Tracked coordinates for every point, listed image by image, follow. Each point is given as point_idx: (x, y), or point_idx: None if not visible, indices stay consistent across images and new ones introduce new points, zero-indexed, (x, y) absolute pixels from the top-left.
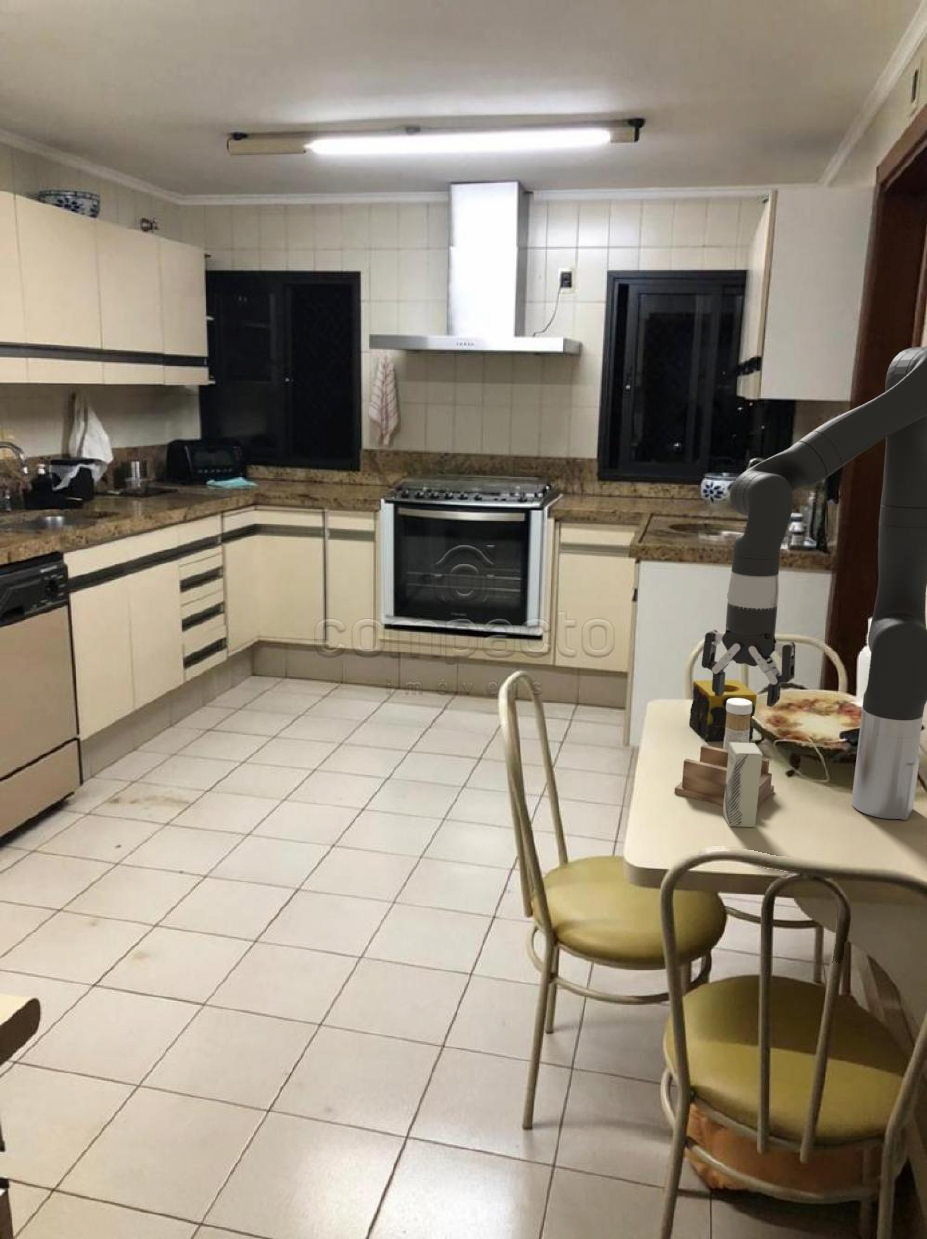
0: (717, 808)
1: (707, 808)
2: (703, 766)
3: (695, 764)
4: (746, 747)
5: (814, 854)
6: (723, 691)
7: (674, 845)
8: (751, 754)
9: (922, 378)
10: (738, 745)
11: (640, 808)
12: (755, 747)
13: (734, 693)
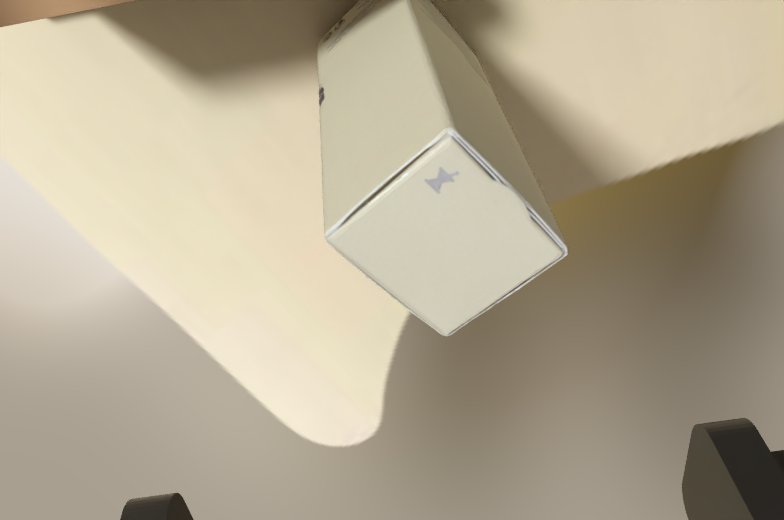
0: (264, 2)
1: (235, 35)
2: (96, 4)
3: (48, 16)
4: (451, 242)
5: (732, 99)
6: (171, 514)
7: (341, 341)
8: (513, 286)
9: None
10: (397, 249)
11: (72, 223)
12: (495, 203)
13: None
